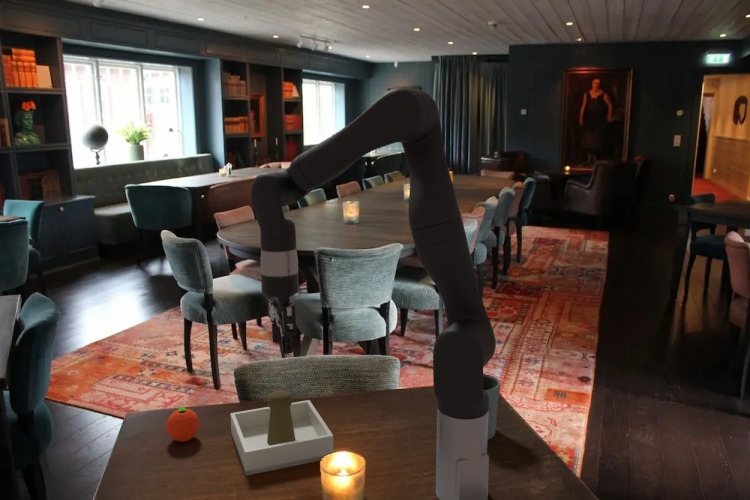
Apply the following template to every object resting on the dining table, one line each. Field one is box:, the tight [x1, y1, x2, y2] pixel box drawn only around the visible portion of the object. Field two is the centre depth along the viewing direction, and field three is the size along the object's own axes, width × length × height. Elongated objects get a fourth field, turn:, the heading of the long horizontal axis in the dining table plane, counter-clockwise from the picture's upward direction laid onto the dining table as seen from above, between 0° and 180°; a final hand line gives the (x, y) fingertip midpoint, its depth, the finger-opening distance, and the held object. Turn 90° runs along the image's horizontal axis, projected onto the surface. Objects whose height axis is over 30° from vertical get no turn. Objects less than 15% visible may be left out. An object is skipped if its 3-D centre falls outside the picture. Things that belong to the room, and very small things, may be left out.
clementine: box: [166, 406, 201, 442], centre depth 137 cm, size 8×7×7 cm
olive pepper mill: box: [266, 389, 296, 446], centre depth 134 cm, size 6×6×11 cm
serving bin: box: [230, 399, 335, 477], centre depth 134 cm, size 18×18×5 cm
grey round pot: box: [483, 373, 501, 441], centre depth 139 cm, size 10×10×12 cm
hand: (282, 346), depth 131 cm, fingers open, 8 cm apart
